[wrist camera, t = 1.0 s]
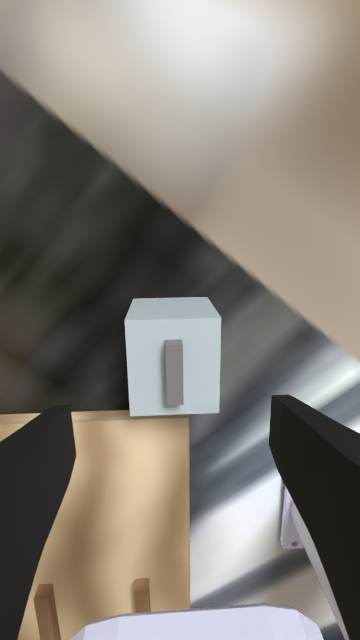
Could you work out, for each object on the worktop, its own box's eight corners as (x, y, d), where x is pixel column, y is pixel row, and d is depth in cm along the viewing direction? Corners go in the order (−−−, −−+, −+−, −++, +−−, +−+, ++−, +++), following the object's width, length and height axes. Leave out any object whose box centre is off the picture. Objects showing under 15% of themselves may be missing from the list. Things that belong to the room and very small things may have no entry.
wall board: (187, 407, 22) (190, 426, 20) (188, 623, 28) (191, 656, 25) (-28, 415, 22) (-49, 436, 19) (16, 634, 27) (4, 669, 25)
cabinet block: (207, 296, 20) (224, 322, 15) (206, 372, 22) (221, 421, 16) (133, 298, 20) (122, 325, 15) (137, 374, 22) (128, 425, 16)
